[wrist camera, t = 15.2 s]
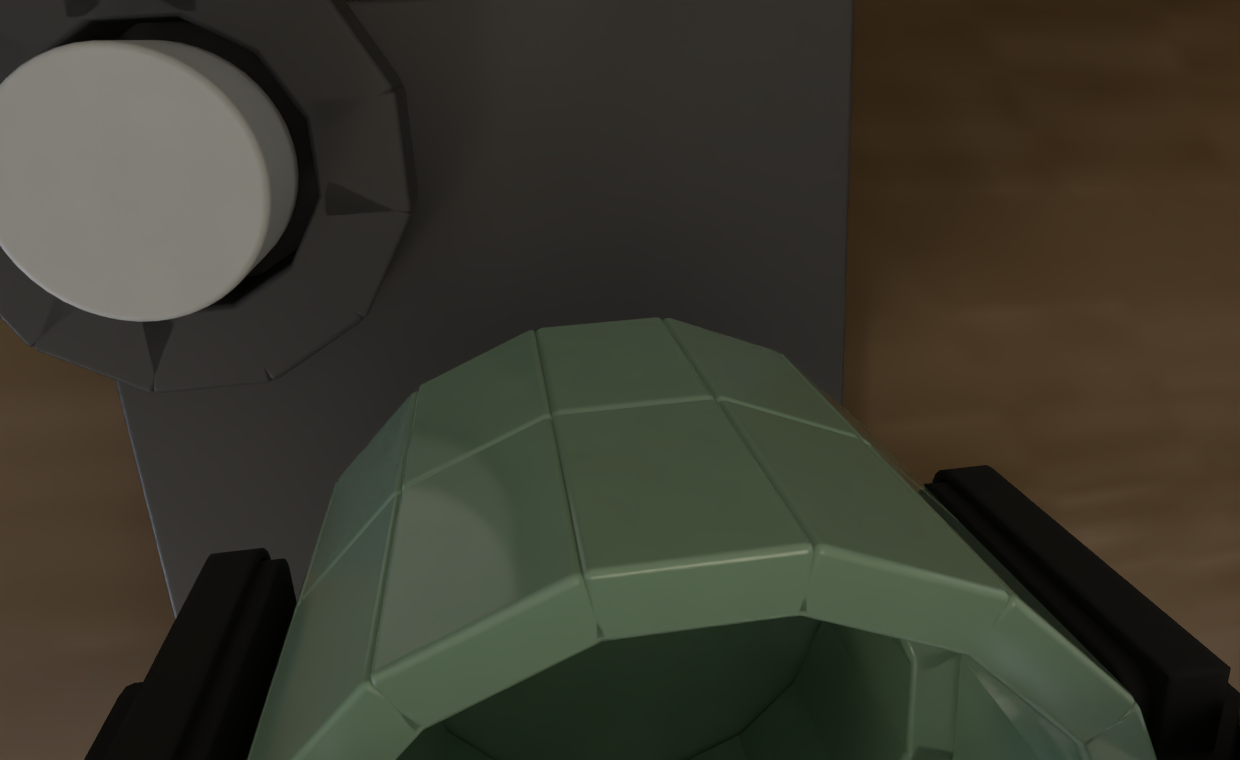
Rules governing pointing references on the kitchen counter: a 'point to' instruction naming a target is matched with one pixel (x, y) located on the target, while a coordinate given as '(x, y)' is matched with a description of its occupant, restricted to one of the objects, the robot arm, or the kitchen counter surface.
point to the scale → (462, 221)
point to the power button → (140, 176)
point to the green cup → (663, 580)
